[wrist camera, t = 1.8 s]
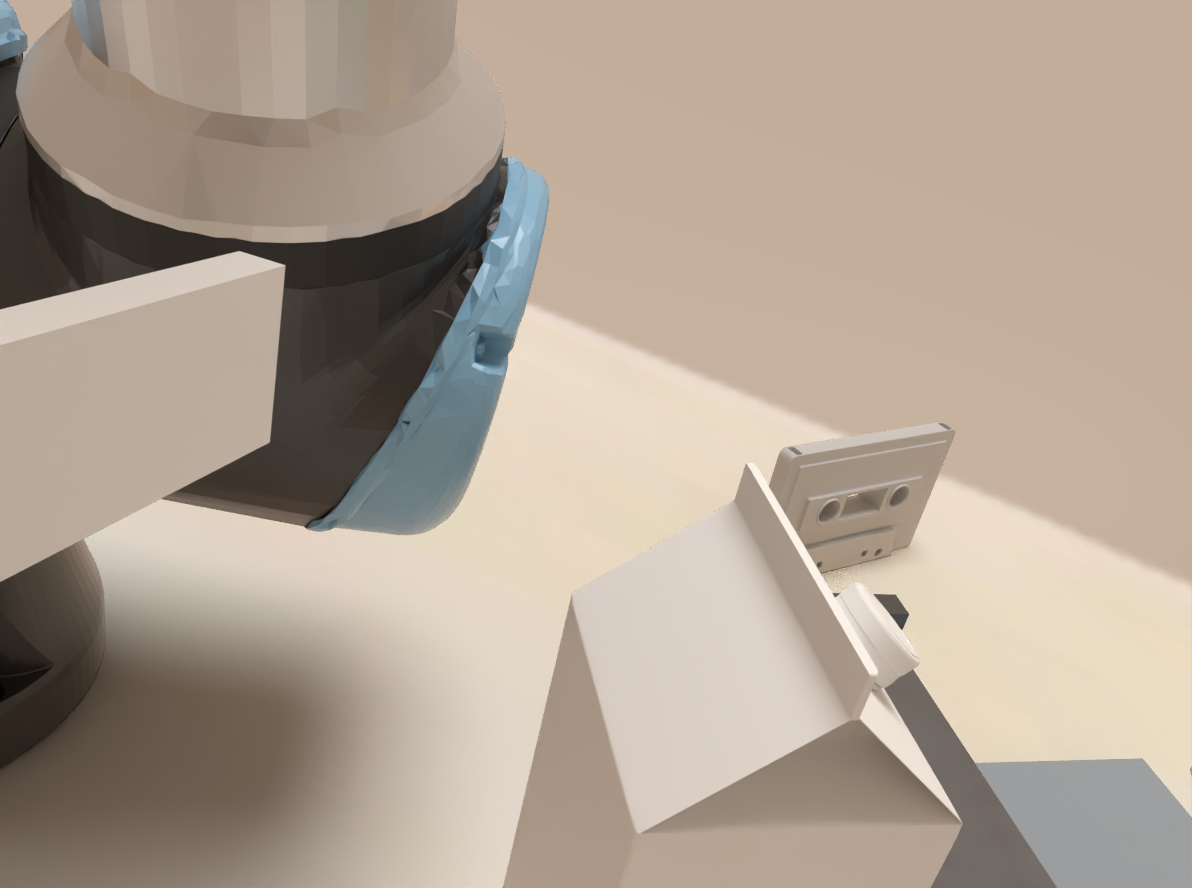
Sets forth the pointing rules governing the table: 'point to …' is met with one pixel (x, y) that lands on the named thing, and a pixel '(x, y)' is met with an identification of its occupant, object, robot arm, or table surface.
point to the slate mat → (1097, 821)
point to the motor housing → (963, 794)
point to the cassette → (859, 491)
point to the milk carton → (729, 726)
